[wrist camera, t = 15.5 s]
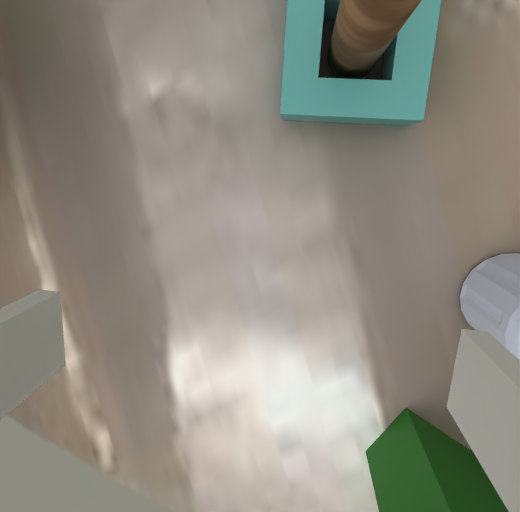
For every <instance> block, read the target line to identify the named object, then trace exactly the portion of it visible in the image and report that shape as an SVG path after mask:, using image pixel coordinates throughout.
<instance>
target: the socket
mask: <svg viewBox="0 0 520 512" xmlns="http://www.w3.org/2000/svg"><path fill="white" fill-rule="evenodd" d="M339 4H340V0H287V15H286V30H285V45H284V61H283V76H282V92H281V107H280V115H281V117H282V119H283V120H290V121H311V122H332V123H353V124H373V125H394V126H409V125H412V124H415V123H418V122H421V121H423V120H424V114H425V107H426V100H427V94H428V87H429V80H430V74H431V67H432V60H433V53H434V47H435V40H436V33H437V27H438V20H439V13H440V7H441V0H422V1H421V2H420V3H419V5H418V6H417V8H416V9H415V10H414V12H413V13H412V14H411V16H410V17H409V18H408V20H407V21H406V23H405V24H404V25H403V27H402V28H401V29H400V31H399V32H398V33H397V35H396V36H395V38H394V39H393V40H392V42H391V43H390V44H389V46H388V47H387V48H386V50H385V53H384V61H383V69H382V77H381V80H370V79H343V78H318V75H319V63H320V52H321V40H322V28H323V19H333V20H336V17H337V12H338V8H339Z"/></svg>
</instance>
